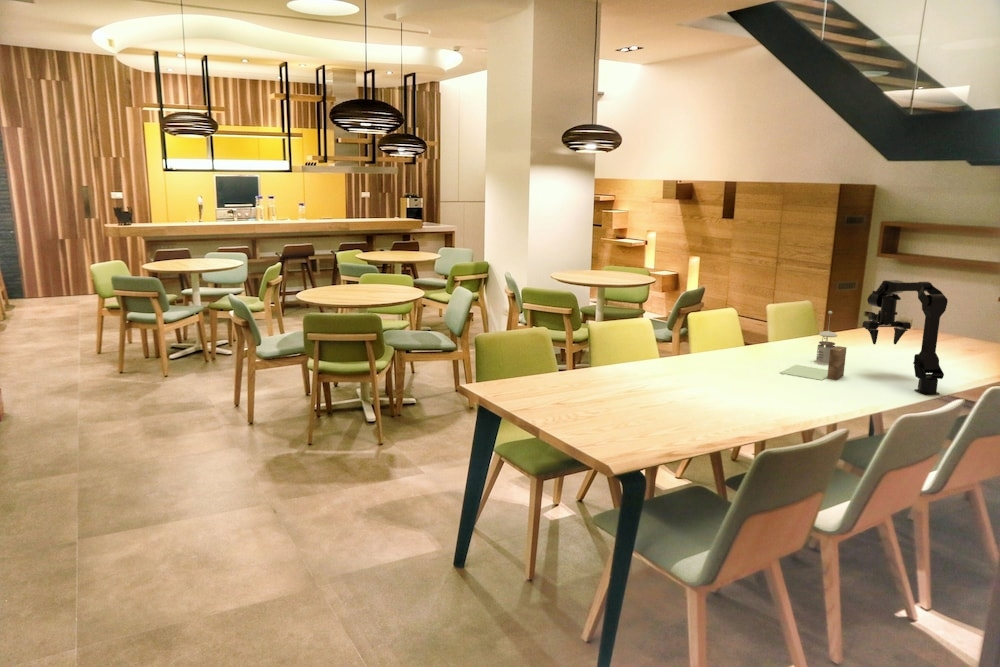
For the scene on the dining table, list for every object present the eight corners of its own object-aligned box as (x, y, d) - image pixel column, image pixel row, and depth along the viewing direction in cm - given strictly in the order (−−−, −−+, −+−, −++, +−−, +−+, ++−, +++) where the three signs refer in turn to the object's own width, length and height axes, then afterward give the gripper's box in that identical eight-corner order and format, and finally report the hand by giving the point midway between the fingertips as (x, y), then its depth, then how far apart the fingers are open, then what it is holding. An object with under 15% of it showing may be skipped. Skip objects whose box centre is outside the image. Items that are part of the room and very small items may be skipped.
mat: (836, 372, 313) (836, 371, 312) (821, 380, 298) (821, 379, 298) (795, 365, 324) (796, 364, 324) (779, 373, 310) (779, 372, 310)
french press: (815, 364, 326) (821, 312, 321) (811, 358, 337) (816, 308, 332) (838, 365, 324) (844, 313, 319) (833, 360, 335) (838, 309, 330)
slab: (843, 376, 306) (846, 347, 303) (836, 380, 299) (840, 350, 296) (833, 374, 308) (836, 346, 306) (827, 378, 302) (830, 349, 299)
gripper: (898, 306, 309) (894, 340, 312) (857, 306, 309) (853, 340, 311) (913, 310, 298) (909, 345, 301) (871, 310, 298) (867, 345, 301)
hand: (884, 344), depth 304 cm, fingers open, 9 cm apart
